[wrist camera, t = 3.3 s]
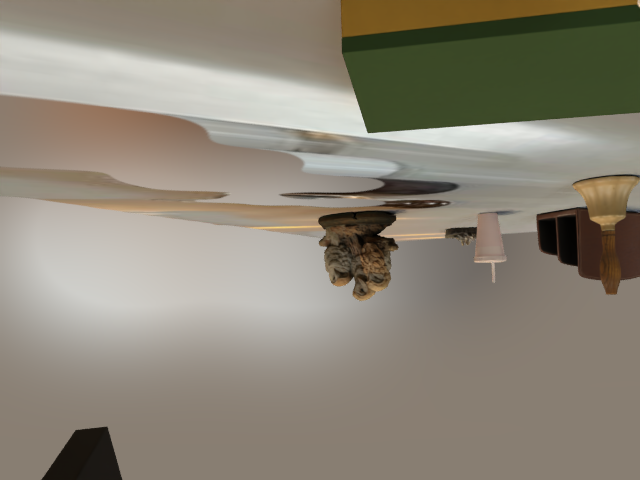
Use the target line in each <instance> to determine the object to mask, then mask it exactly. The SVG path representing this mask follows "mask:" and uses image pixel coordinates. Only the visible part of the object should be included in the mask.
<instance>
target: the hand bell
mask: <svg viewBox="0 0 640 480" xmlns="http://www.w3.org/2000/svg"><path fill="white" fill-rule="evenodd" d="M639 180H640V178H638V177H635V176H609V177H600V178H593V179H587V180H582V181H579V182H576V183H574V184H573V187H574V189H575V190H577V191H578V192H579V193H580V194H581V195H582V197H583V198H584V200H585V202H586V205H587V208H588V212H589V217H590V219H591V220H592V221H594V222H596V223H598V224H600V225H601V230H602V232H601V235H602V244H603V252H602V256H601V260H600V277H601V281H602V284H603V286H604V288H605V291H606V294H617V289H618V286H619V283H620V279H621V267H620V262H619V259H618V256H617V254H616V250H615V224H616V223H617V222H619V221H620V220H622V219H624V218H625V217H626V206H627V201H628V197H629V195H630V193H631V191H632V189H633V188H634V187H635V186H636V185H637V184H638V182H639Z"/></svg>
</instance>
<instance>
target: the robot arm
mask: <svg viewBox="0 0 640 480" xmlns="http://www.w3.org/2000/svg"><path fill="white" fill-rule="evenodd" d="M42 480H122V477H121V474H120V471H119V467H118V463H117V459H116V456H115V452H114V449H113V445H112V442H111V438H110V434H109V431H108V428H107V427H100V428H91V429H82V430H76V431H75V432H74V433H73V435H72V437H71V438H70V439H69V441H68V442H67V444H66V445H65V447H64V448H63V450H62V451H61V453H60V454H59V455H58V457H57V458H56V460H55V461H54V463H53V464H52V465H51V467H50V468H49V470H48V471H47V473H46V474H45V476H44V477H43V478H42Z"/></svg>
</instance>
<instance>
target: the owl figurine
mask: <svg viewBox="0 0 640 480" xmlns="http://www.w3.org/2000/svg"><path fill="white" fill-rule="evenodd" d="M353 217H354V214H352V213H343V214H334V215H328V216H324V217H321V218H320V219H319V224H320V225H321V226H322V227H323V229H326V236H324V237H323V239H321V240H320V241H319V245H320V246H326V247H327V249H326V250H325V252H324V253H325V256H324V257H325V258H324V259H325V262H326V263H325V267H326V271H327V272H329V277H330V280H331V283H332V284H333V285H335V286H343V285H346V284H347V283H349V281H351V279H352V278H353V277H354V279H355V287H354V291H353V296H354V297H355V298H356V299H357V300H360V301H362V300H367V299H369V298H370V297H371V296H373V295H374V294H375V292H376V291H381V290H383V289H385V288H386V287H387V286H388V284H389V281H390V280H391V276H390V272H389V270H390V269H391V260H390V251H394V250H397V249H398V245H397V244H395V240H394V239H393V238H385V237H381V236H380V235H377V234H379V233H381V231H383V230H384V229H385V228H386V227H388V226H390V225H392V223H393V222H394V221H396V215H394V216H393V215H389V214H386V213H384V212H363V213H360V212H358V213H356V218H357V219H358V220H357V219H354V218H353Z"/></svg>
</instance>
